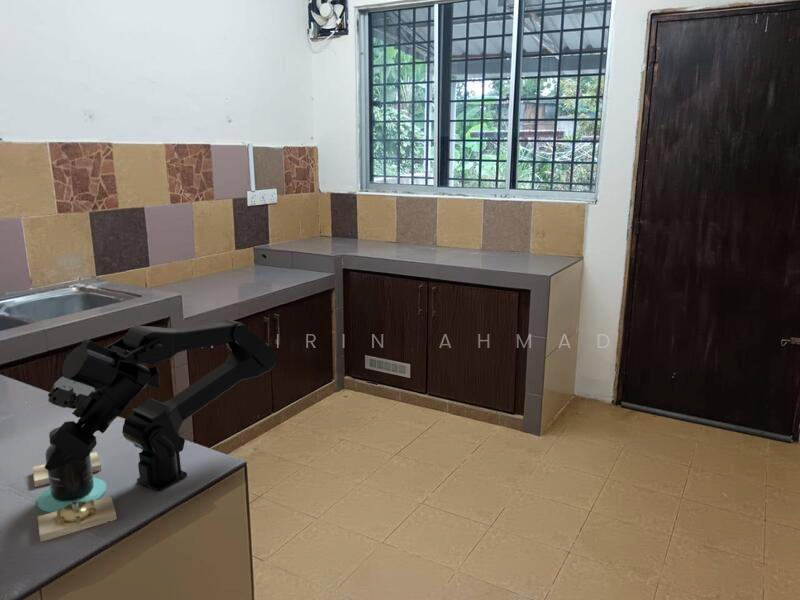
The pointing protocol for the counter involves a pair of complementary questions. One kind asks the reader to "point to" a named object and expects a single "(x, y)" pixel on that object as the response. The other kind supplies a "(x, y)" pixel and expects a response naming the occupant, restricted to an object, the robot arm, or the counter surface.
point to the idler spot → (52, 505)
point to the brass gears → (76, 512)
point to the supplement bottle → (70, 477)
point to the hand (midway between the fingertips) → (57, 455)
